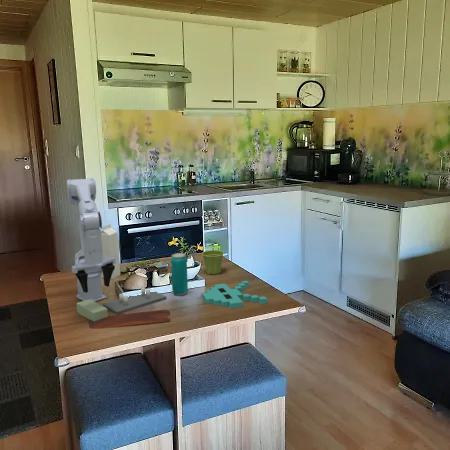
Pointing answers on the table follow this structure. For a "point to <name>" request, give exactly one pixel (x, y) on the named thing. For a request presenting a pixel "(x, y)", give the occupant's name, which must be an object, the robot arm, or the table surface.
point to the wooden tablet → (131, 319)
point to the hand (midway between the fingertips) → (96, 288)
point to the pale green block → (92, 310)
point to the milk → (110, 247)
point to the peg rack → (133, 301)
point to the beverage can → (179, 274)
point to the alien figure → (230, 295)
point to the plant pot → (213, 261)
